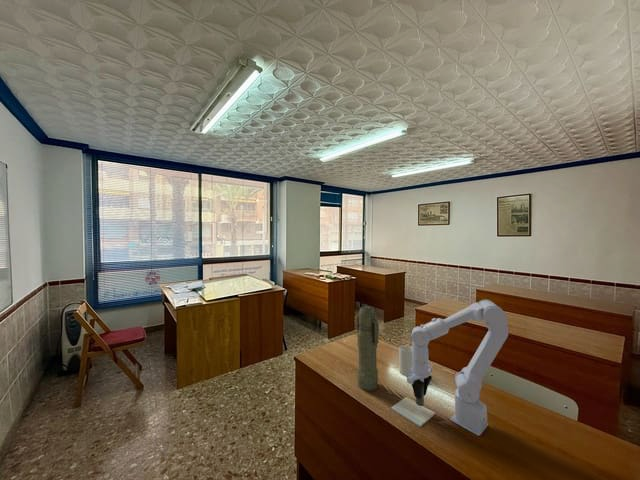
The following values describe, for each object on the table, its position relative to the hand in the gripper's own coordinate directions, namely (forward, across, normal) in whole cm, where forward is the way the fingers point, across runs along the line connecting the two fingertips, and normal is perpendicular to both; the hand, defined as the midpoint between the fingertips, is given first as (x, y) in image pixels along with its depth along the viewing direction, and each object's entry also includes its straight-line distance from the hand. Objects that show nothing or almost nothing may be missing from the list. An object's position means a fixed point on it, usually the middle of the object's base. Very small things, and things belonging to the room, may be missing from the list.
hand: (420, 395), depth 95 cm
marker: (+3, 0, 0) cm, 3 cm away
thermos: (+6, +2, -24) cm, 25 cm away
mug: (+6, -22, -19) cm, 30 cm away
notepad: (+6, +2, -2) cm, 7 cm away
